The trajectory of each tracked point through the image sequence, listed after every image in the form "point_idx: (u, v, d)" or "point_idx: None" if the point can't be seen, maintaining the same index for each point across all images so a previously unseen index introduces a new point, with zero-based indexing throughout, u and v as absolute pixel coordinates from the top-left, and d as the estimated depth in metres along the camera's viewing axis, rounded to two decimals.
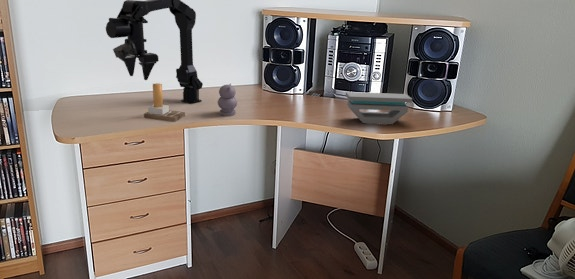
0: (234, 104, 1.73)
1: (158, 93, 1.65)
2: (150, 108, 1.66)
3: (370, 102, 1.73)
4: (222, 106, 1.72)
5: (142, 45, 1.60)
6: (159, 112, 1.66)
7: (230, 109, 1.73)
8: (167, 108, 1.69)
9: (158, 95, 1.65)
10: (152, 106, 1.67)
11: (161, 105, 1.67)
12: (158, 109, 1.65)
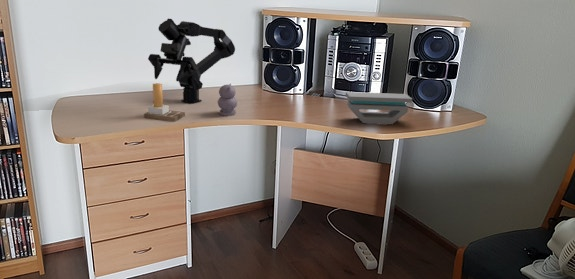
0: (234, 104, 1.73)
1: (158, 93, 1.65)
2: (150, 108, 1.66)
3: (370, 102, 1.73)
4: (222, 106, 1.72)
5: (182, 55, 1.76)
6: (159, 112, 1.66)
7: (230, 109, 1.73)
8: (167, 108, 1.69)
9: (158, 95, 1.65)
10: (152, 106, 1.67)
11: (161, 105, 1.67)
12: (158, 109, 1.65)
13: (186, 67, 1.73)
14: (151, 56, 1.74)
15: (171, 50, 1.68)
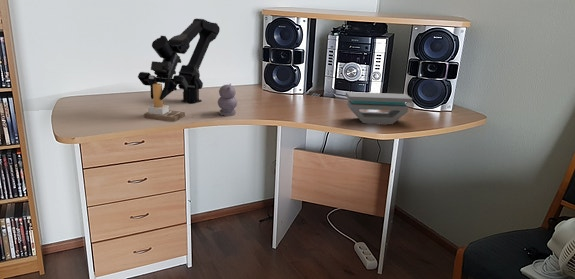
0: (234, 104, 1.73)
1: (158, 93, 1.65)
2: (150, 108, 1.66)
3: (370, 102, 1.73)
4: (222, 106, 1.72)
5: (173, 74, 1.71)
6: (159, 112, 1.66)
7: (230, 109, 1.73)
8: (167, 108, 1.69)
9: (158, 95, 1.65)
10: (152, 106, 1.67)
11: (161, 105, 1.67)
12: (158, 109, 1.65)
13: (170, 85, 1.67)
14: (141, 74, 1.68)
15: (162, 69, 1.62)
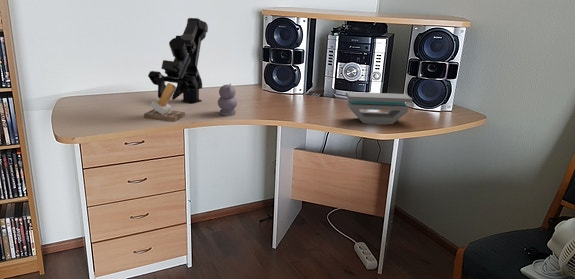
0: (234, 104, 1.73)
1: (168, 95, 1.64)
2: (154, 103, 1.65)
3: (370, 102, 1.73)
4: (222, 106, 1.72)
5: (183, 74, 1.69)
6: (160, 111, 1.65)
7: (230, 109, 1.73)
8: (169, 109, 1.69)
9: (168, 96, 1.64)
10: (156, 101, 1.66)
11: (165, 105, 1.66)
12: (161, 108, 1.65)
13: (183, 85, 1.65)
14: (151, 73, 1.66)
15: (172, 68, 1.61)
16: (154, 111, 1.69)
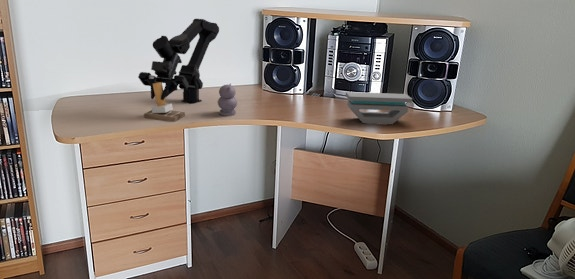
0: (234, 104, 1.73)
1: (159, 91, 1.65)
2: (153, 107, 1.66)
3: (370, 102, 1.73)
4: (222, 106, 1.72)
5: (173, 74, 1.71)
6: (162, 110, 1.65)
7: (230, 109, 1.73)
8: (170, 106, 1.69)
9: (159, 93, 1.65)
10: (155, 105, 1.68)
11: (164, 103, 1.67)
12: (160, 107, 1.65)
13: (171, 85, 1.67)
14: (141, 74, 1.67)
15: (162, 69, 1.62)
16: None
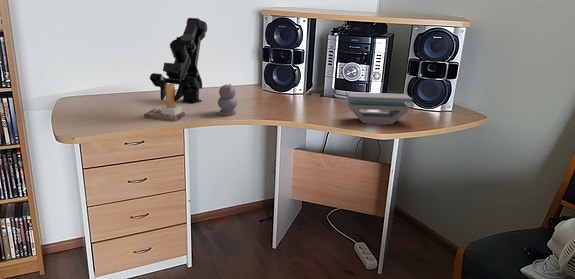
0: (234, 104, 1.73)
1: (171, 94, 1.64)
2: (163, 109, 1.66)
3: (370, 102, 1.73)
4: (222, 106, 1.72)
5: (185, 75, 1.70)
6: (171, 113, 1.66)
7: (230, 109, 1.73)
8: (180, 109, 1.69)
9: (171, 95, 1.65)
10: (165, 107, 1.67)
11: (174, 106, 1.67)
12: (170, 110, 1.65)
13: (185, 87, 1.66)
14: (153, 75, 1.67)
15: (174, 70, 1.62)
16: (154, 111, 1.69)
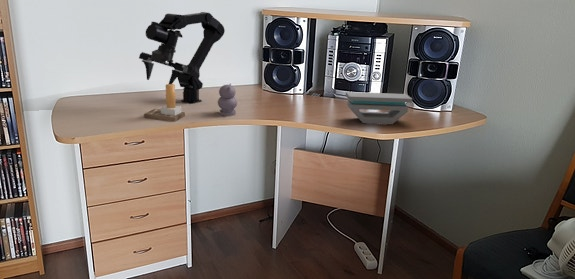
0: (234, 104, 1.73)
1: (171, 94, 1.64)
2: (163, 109, 1.66)
3: (370, 102, 1.73)
4: (222, 106, 1.72)
5: None
6: (171, 113, 1.66)
7: (230, 109, 1.73)
8: (180, 109, 1.69)
9: (171, 95, 1.65)
10: (165, 107, 1.67)
11: (174, 106, 1.67)
12: (170, 110, 1.65)
13: (178, 72, 1.74)
14: (142, 57, 1.72)
15: (162, 61, 1.67)
16: (154, 111, 1.69)
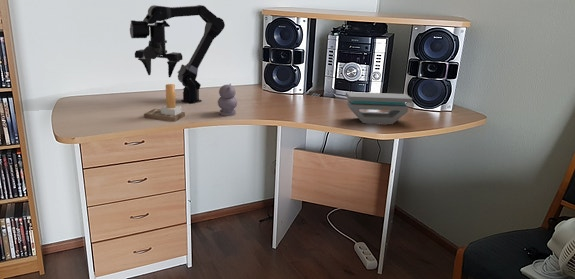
0: (234, 104, 1.73)
1: (171, 94, 1.64)
2: (163, 109, 1.66)
3: (370, 102, 1.73)
4: (222, 106, 1.72)
5: None
6: (171, 113, 1.66)
7: (230, 109, 1.73)
8: (180, 109, 1.69)
9: (171, 95, 1.65)
10: (165, 107, 1.67)
11: (174, 106, 1.67)
12: (170, 110, 1.65)
13: None
14: (137, 55, 1.77)
15: (154, 57, 1.71)
16: (154, 111, 1.69)
